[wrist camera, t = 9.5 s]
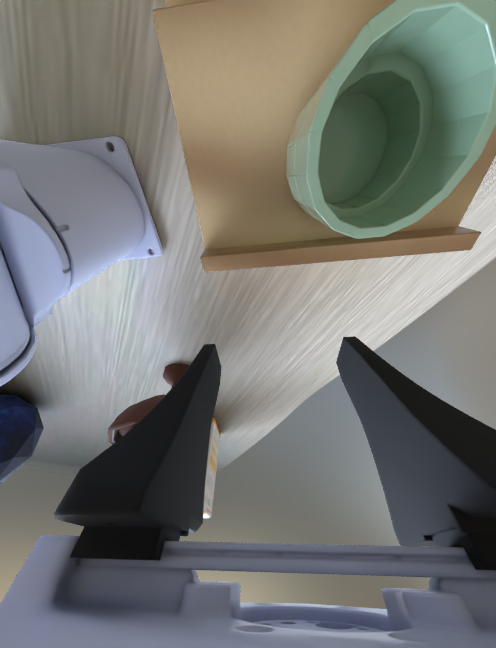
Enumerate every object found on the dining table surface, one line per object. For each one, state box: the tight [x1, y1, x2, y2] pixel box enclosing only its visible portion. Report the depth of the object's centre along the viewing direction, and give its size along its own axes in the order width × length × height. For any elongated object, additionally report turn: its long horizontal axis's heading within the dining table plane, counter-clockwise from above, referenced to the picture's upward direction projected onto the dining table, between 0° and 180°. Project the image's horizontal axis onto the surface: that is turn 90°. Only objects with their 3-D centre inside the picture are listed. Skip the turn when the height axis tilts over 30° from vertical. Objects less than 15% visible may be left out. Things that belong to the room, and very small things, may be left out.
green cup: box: [286, 0, 496, 239], centre depth 8 cm, size 6×6×5 cm
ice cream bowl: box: [108, 364, 189, 444], centre depth 23 cm, size 11×11×15 cm
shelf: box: [153, 0, 496, 272], centre depth 9 cm, size 17×16×6 cm
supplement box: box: [203, 418, 220, 518], centre depth 34 cm, size 8×5×13 cm, turn 3°
